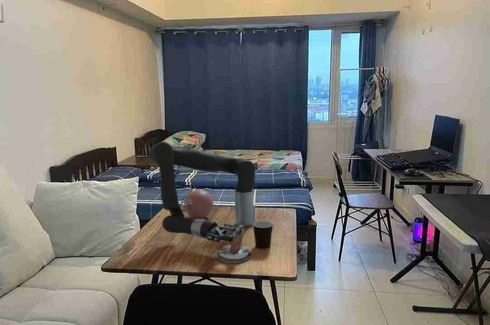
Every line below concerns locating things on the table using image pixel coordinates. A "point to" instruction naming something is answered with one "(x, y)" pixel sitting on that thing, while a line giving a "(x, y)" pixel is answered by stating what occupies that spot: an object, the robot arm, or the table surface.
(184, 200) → the gear
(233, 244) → the lighter
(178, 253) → the table surface
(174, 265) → the table surface
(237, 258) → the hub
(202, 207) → the balloon
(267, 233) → the coffee mug
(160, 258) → the table surface
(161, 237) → the table surface
